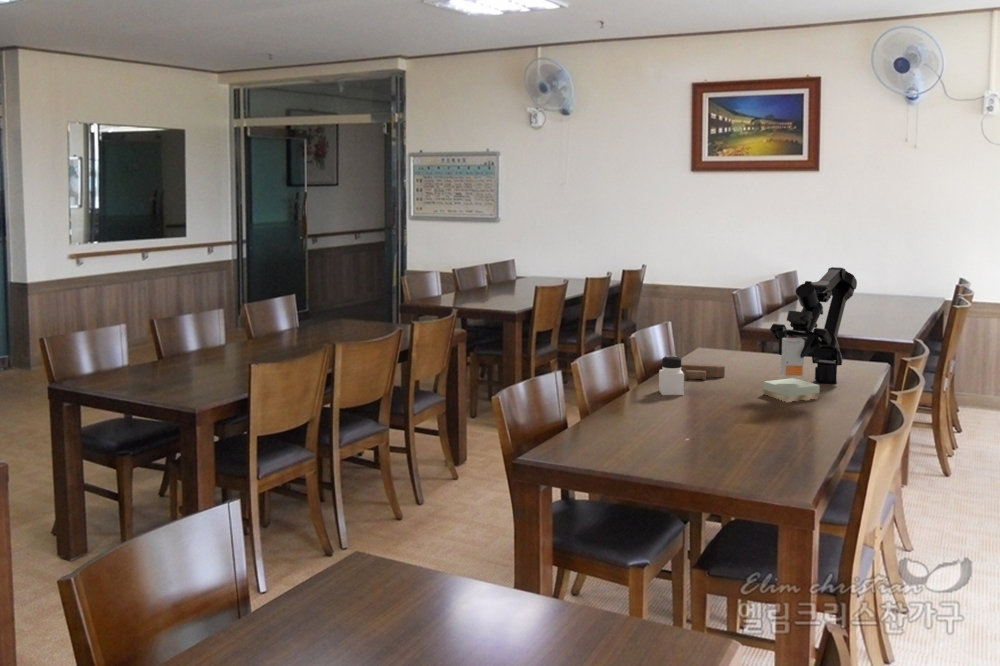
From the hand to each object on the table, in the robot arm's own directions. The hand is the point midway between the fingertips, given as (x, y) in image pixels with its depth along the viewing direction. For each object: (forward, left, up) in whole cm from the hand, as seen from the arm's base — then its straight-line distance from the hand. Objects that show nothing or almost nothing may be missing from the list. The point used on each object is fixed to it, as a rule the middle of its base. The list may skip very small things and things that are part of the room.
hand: (790, 355), depth 295 cm
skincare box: (-1, -1, -7) cm, 7 cm away
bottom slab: (-1, -1, -14) cm, 14 cm away
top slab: (-1, -1, -12) cm, 12 cm away
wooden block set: (+31, -20, -14) cm, 39 cm away
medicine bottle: (+36, +3, -13) cm, 39 cm away
